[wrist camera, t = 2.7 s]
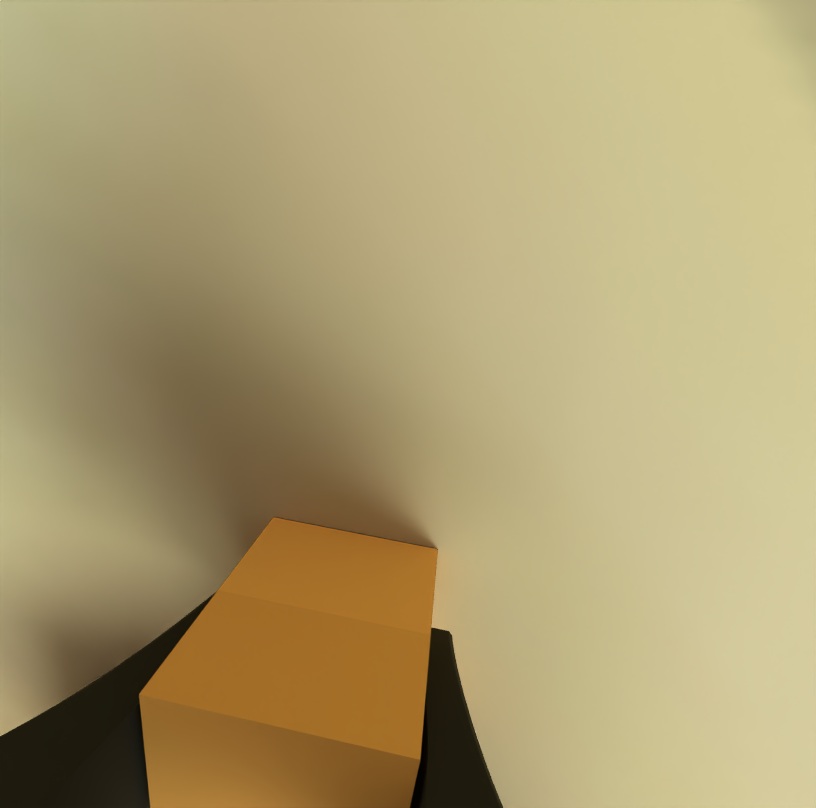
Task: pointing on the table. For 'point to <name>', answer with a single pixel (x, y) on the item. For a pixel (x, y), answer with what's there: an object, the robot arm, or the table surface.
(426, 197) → the table surface
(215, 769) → the block
